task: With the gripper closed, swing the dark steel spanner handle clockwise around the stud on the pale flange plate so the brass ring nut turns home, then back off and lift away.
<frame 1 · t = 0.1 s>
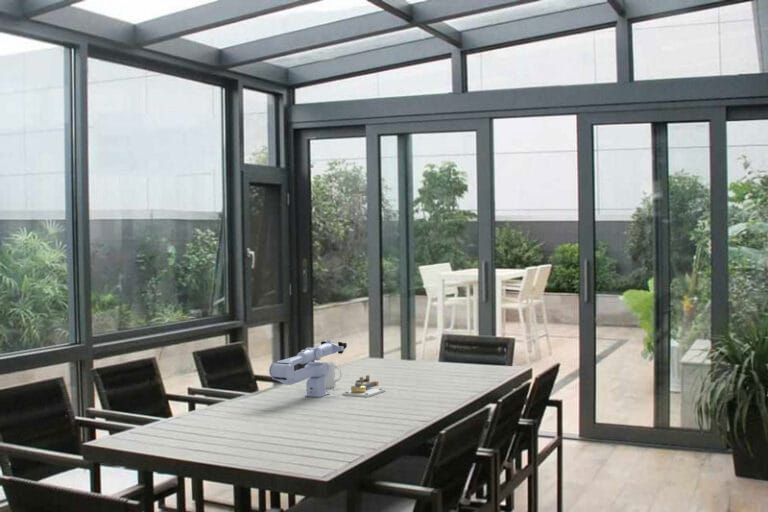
hand: (339, 344, 436), 22 cm above the table, tool horizontal, fingers open, 7 cm apart
mug: (330, 387, 442), on the table
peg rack: (364, 386, 441), on the table
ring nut: (365, 386, 426), point 2 cm above the table, hinge at 0.0°
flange: (358, 394, 420), on the table
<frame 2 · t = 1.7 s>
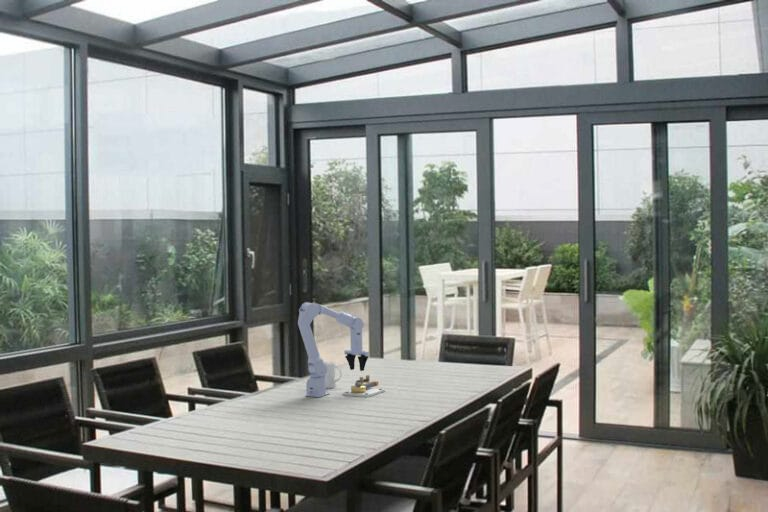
hand: (357, 370, 430), 10 cm above the table, tool pointing down, fingers open, 6 cm apart
nothing on the table moved.
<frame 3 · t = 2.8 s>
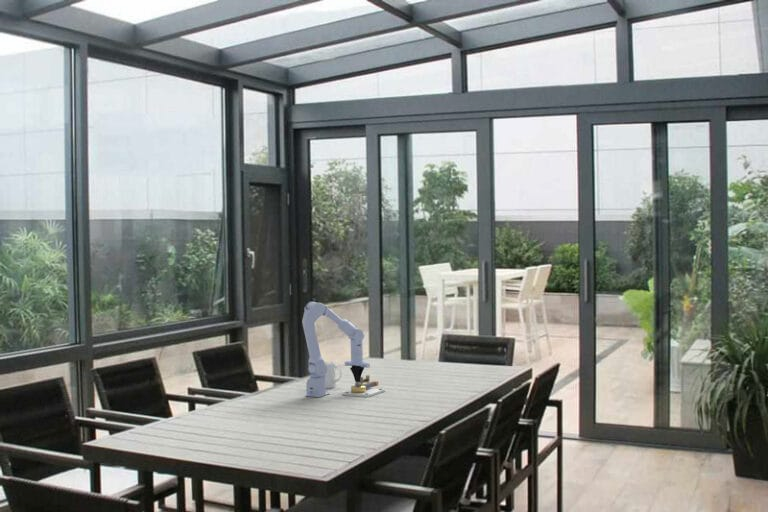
hand: (357, 381, 430), 4 cm above the table, tool pointing down, fingers closed
nothing on the table moved.
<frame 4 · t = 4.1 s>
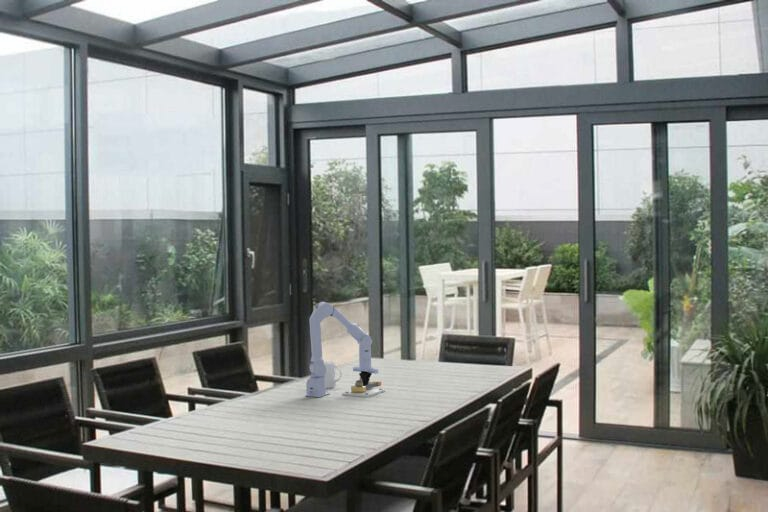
hand: (365, 387, 427), 2 cm above the table, tool pointing down, fingers closed, pressing on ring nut
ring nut: (366, 386, 425), point 2 cm above the table, hinge at 5.9°, touching gripper
everything else where it was.
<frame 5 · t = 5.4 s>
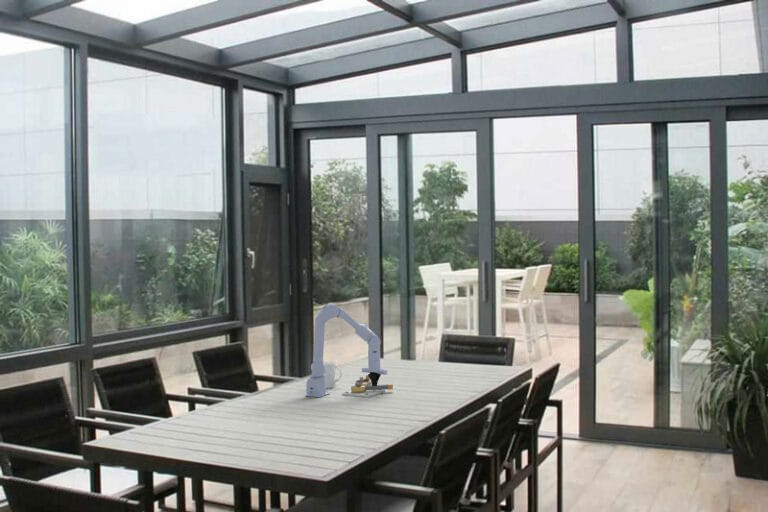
hand: (374, 388, 424), 2 cm above the table, tool pointing down, fingers closed, pressing on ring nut
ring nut: (371, 388, 421), point 2 cm above the table, hinge at 48.6°, touching gripper
everything else where it was.
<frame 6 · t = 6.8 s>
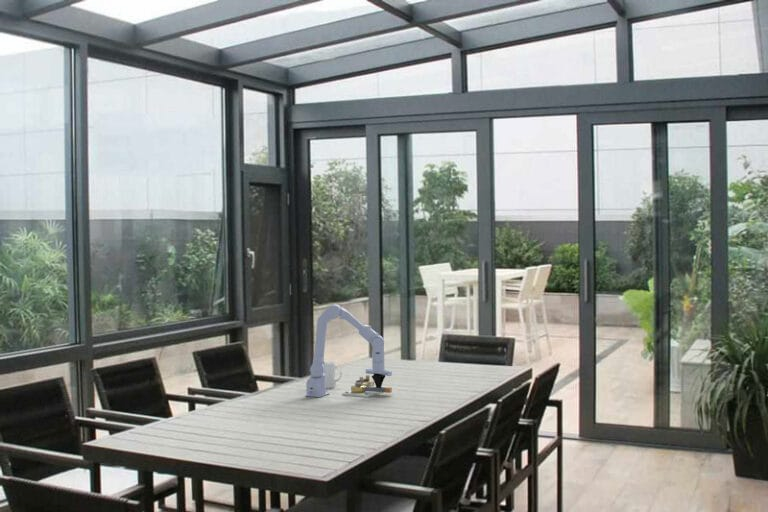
hand: (378, 389, 419), 2 cm above the table, tool pointing down, fingers closed
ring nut: (371, 389, 418), point 2 cm above the table, hinge at 80.4°, touching gripper
everything else where it was.
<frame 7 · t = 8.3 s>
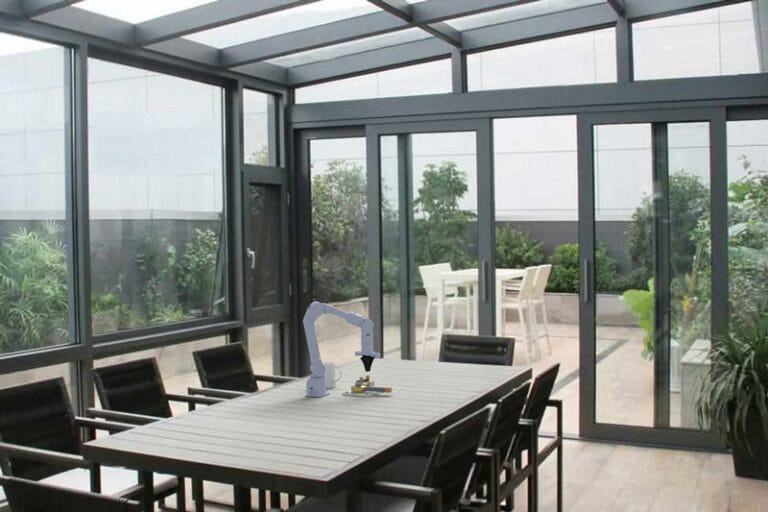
hand: (367, 371, 425), 10 cm above the table, tool pointing down, fingers closed
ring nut: (371, 389, 418), point 2 cm above the table, hinge at 80.4°
everything else where it was.
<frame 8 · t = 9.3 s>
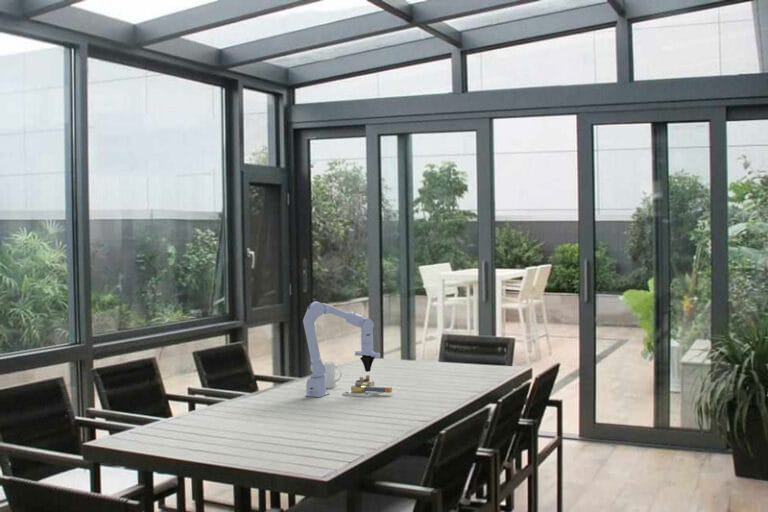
hand: (367, 371, 425), 10 cm above the table, tool pointing down, fingers closed
nothing on the table moved.
at the end: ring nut at +80° (first picture: +0°) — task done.
